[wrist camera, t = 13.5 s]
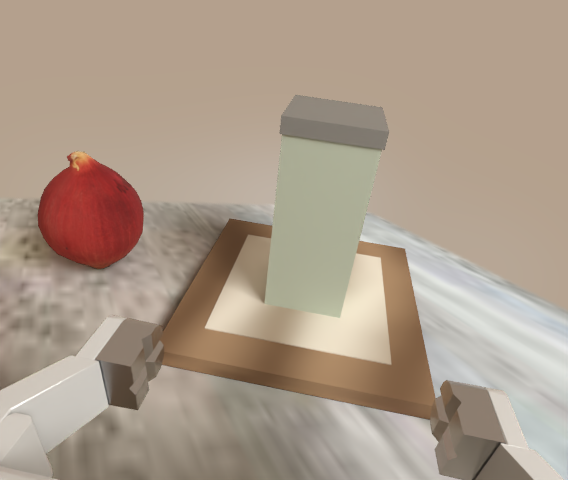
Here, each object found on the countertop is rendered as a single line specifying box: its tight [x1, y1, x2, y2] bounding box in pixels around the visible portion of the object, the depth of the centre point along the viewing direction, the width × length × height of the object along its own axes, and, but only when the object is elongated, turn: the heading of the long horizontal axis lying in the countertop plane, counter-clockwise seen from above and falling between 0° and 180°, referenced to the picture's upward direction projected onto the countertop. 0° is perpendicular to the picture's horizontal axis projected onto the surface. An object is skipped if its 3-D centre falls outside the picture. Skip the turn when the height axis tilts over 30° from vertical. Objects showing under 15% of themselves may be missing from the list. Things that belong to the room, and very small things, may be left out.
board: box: [160, 219, 436, 419], centre depth 25 cm, size 14×14×1 cm
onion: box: [38, 151, 143, 269], centre depth 24 cm, size 6×6×8 cm
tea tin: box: [264, 95, 389, 318], centre depth 22 cm, size 5×5×11 cm
